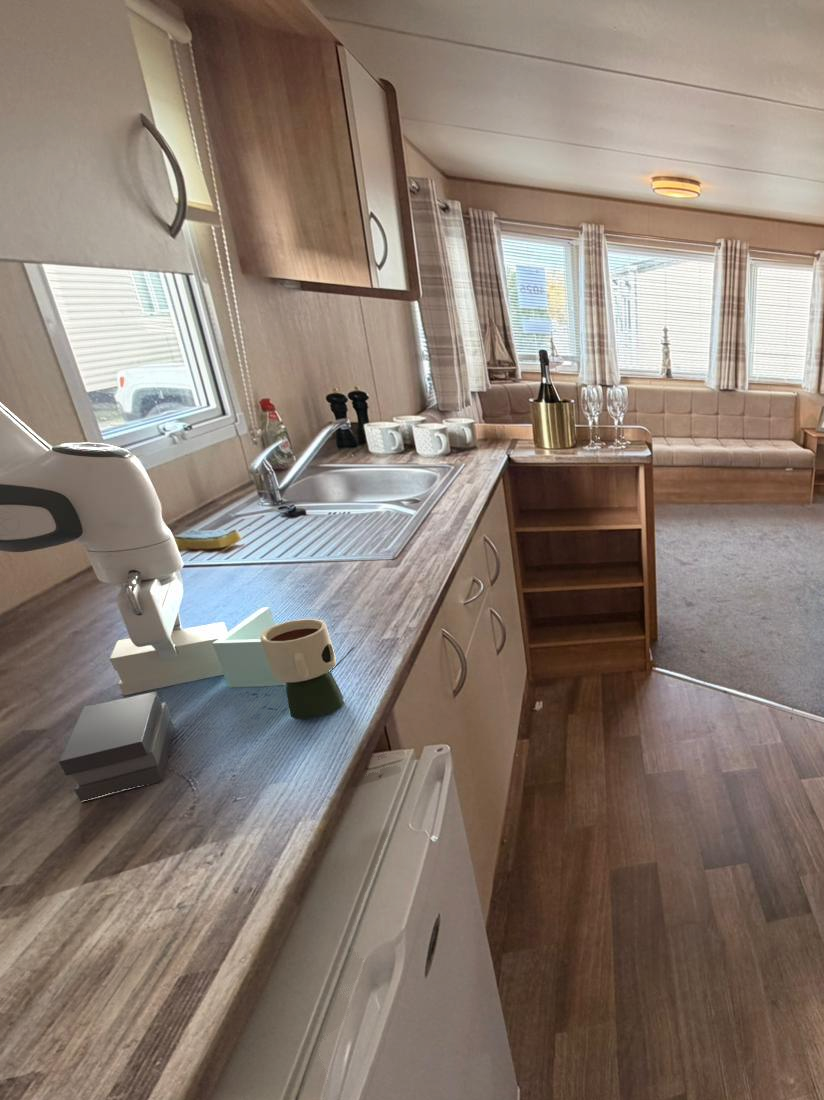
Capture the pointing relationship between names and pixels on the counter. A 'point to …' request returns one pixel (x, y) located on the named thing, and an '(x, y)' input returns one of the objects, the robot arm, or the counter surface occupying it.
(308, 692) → the character mug
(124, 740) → the grey book pile
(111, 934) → the counter surface
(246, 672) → the l-shaped corner panel
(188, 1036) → the counter surface
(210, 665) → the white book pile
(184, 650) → the cream flat block
